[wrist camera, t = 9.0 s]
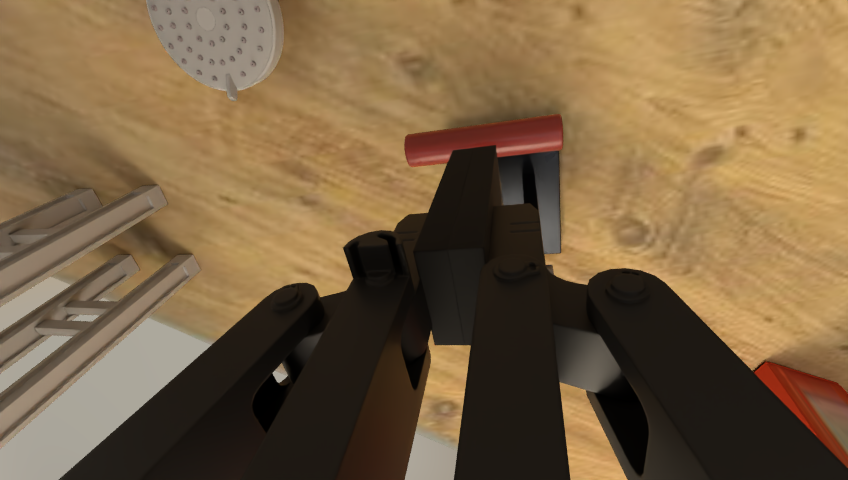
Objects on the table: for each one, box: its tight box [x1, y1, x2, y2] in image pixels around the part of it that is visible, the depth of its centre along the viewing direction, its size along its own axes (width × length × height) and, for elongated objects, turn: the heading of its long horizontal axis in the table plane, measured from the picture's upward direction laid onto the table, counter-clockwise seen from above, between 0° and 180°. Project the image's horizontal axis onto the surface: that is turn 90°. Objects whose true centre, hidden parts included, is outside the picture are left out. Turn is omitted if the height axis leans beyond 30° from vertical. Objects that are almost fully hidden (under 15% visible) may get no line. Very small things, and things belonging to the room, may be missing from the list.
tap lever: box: [404, 114, 563, 205], centre depth 22 cm, size 13×6×2 cm, turn 10°
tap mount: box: [498, 150, 561, 275], centre depth 30 cm, size 12×9×15 cm
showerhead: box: [146, 0, 284, 101], centre depth 29 cm, size 9×7×10 cm
